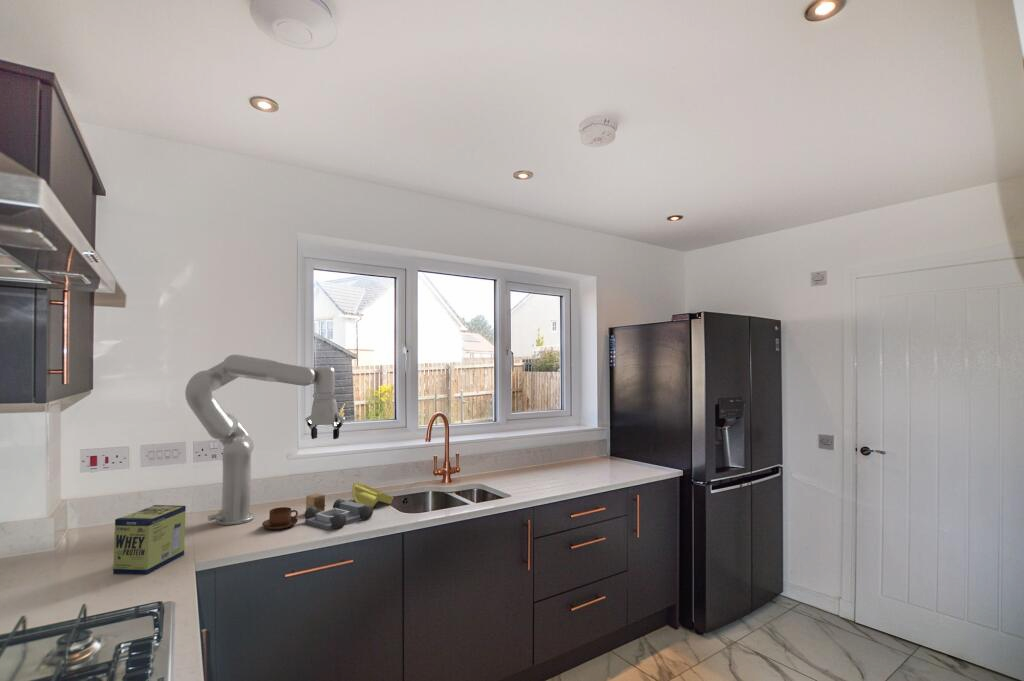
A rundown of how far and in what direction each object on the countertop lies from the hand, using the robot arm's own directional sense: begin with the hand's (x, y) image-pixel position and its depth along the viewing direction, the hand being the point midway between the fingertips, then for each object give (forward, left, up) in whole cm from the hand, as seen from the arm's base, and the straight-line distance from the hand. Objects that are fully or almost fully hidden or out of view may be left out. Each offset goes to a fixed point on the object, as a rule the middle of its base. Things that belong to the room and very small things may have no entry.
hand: (325, 438), depth 206 cm
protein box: (-63, -3, -30) cm, 70 cm away
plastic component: (+20, -6, -30) cm, 37 cm away
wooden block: (-3, +1, -30) cm, 30 cm away
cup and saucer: (-21, -3, -30) cm, 37 cm away
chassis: (-4, -15, -30) cm, 33 cm away
